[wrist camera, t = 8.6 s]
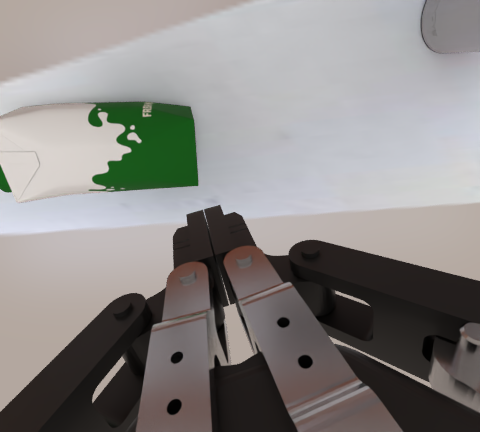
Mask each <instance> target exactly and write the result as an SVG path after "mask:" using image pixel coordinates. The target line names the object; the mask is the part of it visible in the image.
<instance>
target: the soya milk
mask: <svg viewBox="0 0 480 432" xmlns="http://www.w3.org/2000/svg"><path fill="white" fill-rule="evenodd" d="M187 186H198V171H197V156H196V142H195V127H194V119H193V115H192V111H191V107H189V106H180V105H171V104H162V103H152V102H108V103H63V104H48V105H39V106H30V107H22V108H19V109H17V110H14V111H12V112H9V113H7V114H4V115H2V116H0V189H1V190H2V191H4V192H12V193H13V195H14V197H15V199H16V202H18V203H22V202H28V201H33V200H39V199H45V198H51V197H58V196H64V195H73V194H86V193H100V192H114V191H128V190H142V189H157V188H172V187H187Z"/></svg>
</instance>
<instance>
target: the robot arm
mask: <svg viewBox="0 0 480 432" xmlns="http://www.w3.org/2000/svg"><path fill="white" fill-rule="evenodd" d="M422 33H423V37H424V40H425V43H426V44H427V45H428V47H429V48H430V49H432V50H433V51H435V52H438V53H459V52H480V0H427V1H426V4H425V7H424V10H423V16H422ZM204 211H205V215H206V219H207V222H206V219H205V215H204V212H203V210H201V211H197V212H194V213H190V214H187V224H188V226H185V227H182V228H178V229H177V230H176V232H175V234H174V236H173V250H174V251H173V259H174V270H173V271H172V272H171V273H170V275H169V276H168V278H167V284H166V288H165V289H163V290H162V291H161V292H159V293H157V294H156V295H154V296H152V297H150V298H148V299H147V300H146V299H145V298H144V296H142V295H141V294H137V293H130V294H127V295H124V296H121V297H119V298H117V299H116V300H114V301H113V302H111V303H110V304H109V305H108V306H107V307H106V308H105V309H104V310H103V311H102V312H101V313H100V314H99V315H98V316H97V317H96V318H95V319H94V320H93V321H92V322H91V323H90V324H89V325H88V326H87V327H86V328H85V329H84V330H82V332H81V333H79V334H78V335H77V336H76V338H75V339H73V340H72V341H71V342H70V343H69V344H68V346H66V347H65V349H64V350H62V351H61V352H60V353H59V354H58V355H57V356H56V357H55V358H54V359H53V360H52V361H51V362H50V363H49V364H48V365H47V366H46V367H45V368H44V369H43V370H42V371H41V372H40V373H39V374H38V375H37V376H36V377H35V378H34V379H33V380H32V381H31V382H30V383H29V384H28V385H27V386H26V387H25V388H24V389H23V390H22V391H21V392H20V393H19V394H18V395H17V396H16V397H15V398H14V399H13V400H12V401H11V402H10V403H9V404H8V405H7V406H6V407H5V408H4V409H3V410H2V411H1V412H0V432H480V281H477V280H473V279H469V278H465V277H461V276H457V275H453V274H449V273H445V272H441V271H438V270H433V269H429V268H425V267H422V266H418V265H413V264H410V263H406V262H402V261H398V260H394V259H390V258H386V257H382V256H378V255H374V254H370V253H366V252H362V251H358V250H354V249H350V248H346V247H342V246H338V245H334V244H330V243H326V242H322V241H318V240H306V241H302V242H299V243H297V244H295V245H294V246H293V247H292V248H291V249H290V251H289V255H286V256H270V255H266V254H264V253H263V251H262V250H261V249H259V248H258V247H257V246H256V244H255V242H254V240H253V238H252V236H251V234H250V232H249V230H248V228H247V226H246V224H245V221H244V219H243V217H242V216H241V215H239V214H237V213H235V212H233V213H230V214H227V215H224V214H223V212H222V209H221V206H220V205H218V206H214V207H211V208H207V209H204ZM207 224H208V225H207ZM221 275H222V276H221ZM222 278H223V280H222ZM223 282H224V284H223ZM224 285H225V288H226V291H227V295H228V298H229V301H230V304H234V303H236V307H237V310H238V314H239V317H240V320H241V323H242V326H243V328H244V331H245V333H246V336H247V338H248V341H249V344H250V346H251V349H252V352H253V354H254V356H252V357H250V358H249V359H247V360H246V361H244V362H242V363H240V364H237V365H231V358H230V350H229V342H228V334H227V326H226V323H225V314H224V309H223V307H225V306H228V305H229V304H228V300H227V296H226V292H225V288H224ZM335 290H336V291H339V292H341V293H344V294H347V295H350V296H353V297H355V298H358V299H361V300H363V301H365V302H366V303H368V304H369V305H370V306H371V307H370V306H368V305H365V304H362V303H359V302H357V301H354V300H351V299H348V298H345V297H343V296H340V295H337V294H335ZM329 336H330V337H332V338H335V339H337V340H339V341H341V342H343V343H345V344H348V345H350V346H352V347H354V348H356V349H358V350H361V351H363V352H365V353H367V354H369V355H371V356H374V357H376V358H378V359H380V360H383V361H384V362H387V363H389V364H391V365H393V366H395V367H397V368H400V369H402V370H404V371H406V372H408V373H410V374H412V375H415V376H417V377H419V378H421V379H423V380H425V381H428V382H430V384H431V386H432V388H433V389H432V388H430V387H428V386H426V385H424V384H422V383H420V382H417V381H415V380H414V379H412V378H410V377H408V376H406V375H404V374H402V373H400V372H398V371H396V370H394V369H392V368H390V367H388V366H386V365H384V364H382V363H380V362H378V361H376V360H374V359H372V358H370V357H368V356H366V355H364V354H362V353H360V352H358V351H356V350H353V349H351V348H348V347H345V346H341V345H337V344H334V343H333V342H332V341H331V339H330V338H329ZM121 357H123V358H124V360H125V361H126V362H125V363H124V365H123V366H122V367H121V368H120V370H119V371H118V372H117V373H116V375H115V376H114V377H113V378H112V380H111V381H110V382H109V383H108V385H107V386H106V387H105V388H104V390H103V391H102V392H101V393H100V395H99V396H98V397H97V398H96V400H95V401H94V402H93V403H92V397H93V394H94V391H95V389H96V388H97V386H98V385H99V383H100V382H101V381H102V379H104V377H105V376H106V375H107V374H108V372H109V371H110V370H111V369H112V368H113V366H114V365H115V364H116V363H117V362H118V360H119V359H120V358H121Z"/></svg>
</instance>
